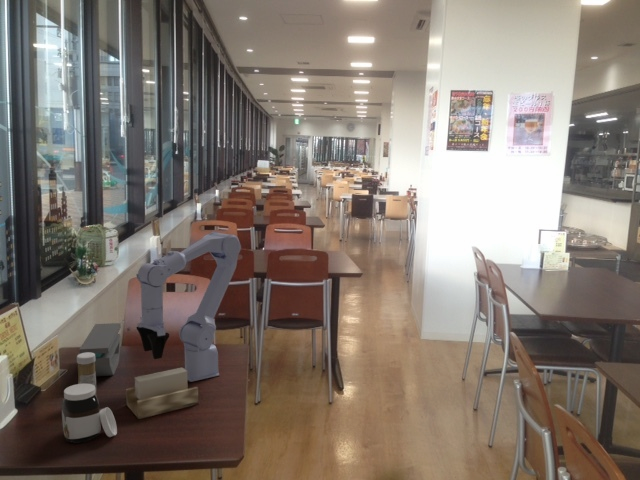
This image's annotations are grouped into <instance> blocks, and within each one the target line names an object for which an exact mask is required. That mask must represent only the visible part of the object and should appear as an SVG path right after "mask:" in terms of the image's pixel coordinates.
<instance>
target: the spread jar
mask: <svg viewBox="0 0 640 480" xmlns="http://www.w3.org/2000/svg"><path fill="white" fill-rule="evenodd" d="M63 397H64V398H63V399H62V401H61V417H62V418H61V419H62V420H61V421H62V422H61V424H62V431H63V436H64V438H65V440H66V441H68V442H69V443H72V442H73V443H75V444H76V443H77V444H81V443H80V442H82V443H86V442H90V441H92V440H93V438H94V439H95V438H96V437H98V436H99V435H100V433H101V429H103V431H104V433H105V435H106V436H107V437H108V438H111V437H115V436H116V435H117V434H118V427H117V422H116V419H115V416H114V414H113V413H114V412H113V411H112V410H111V408H109V407H108V406H107V407H103V408H100V401H99V399H98V397H97V394H96V395H95V386H94V385H92V384H78V383H77V384H73V385H70V386H67V387H66V388H65V389H64V390H63ZM101 426H102V428H101ZM91 439H92V440H91Z"/></svg>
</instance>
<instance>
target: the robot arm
mask: <svg viewBox="0 0 640 480" xmlns="http://www.w3.org/2000/svg"><path fill="white" fill-rule="evenodd" d="M241 250H242V245H241V242H240V240H239V237H238V236H236V235H235V234H227V233H222V232H217V231H212V232H210V233H209V234H205V235H204V236H203V237H202V238H201V239H199V240H198V241H196V242H195V243H193V244H191V245H190V246H188V247H187V248H185V249H183V250H181V251H177V250H169V251H167V252H166V255H164V256H162V257H160V258H155V259H154V260H153V262H152V263H147V262H146V263H144V264H142V265H141V266H140V267H139V269H138V272H137V273H136V274H135V275H136V279H137V280H138V282H139V283H140V289H141V290H140V291H141V292H140V297H141V299H140V301H141V316H140V319H139V320H140V322H138V323H137V326H136V331H137V332H138V333H139V336H140V339H141V343H142V344H141V345H142V347H143V351H144V352H149V351H151V352H152V357H153V359H154V360H157V359H162V358H163V356H164V355H163V354H164V350H165V346H166V343H167V342H168V339H169V338H170V333H169V332H166V327H165V322H164V301H163V300H164V294H163V293H164V292H163V291H164V290H163V289H164V284H165V283H166V282H167V279H168V278H170V277H172V276H173V275H175V274H177V273H178V272H180V271H182V270H184V269H185V268H186V265H187V263H188V262H190V261H192V260H194V259H196V258H198V257H201V256H203V255H204V254H207V253H210V255H211V256H212V258H213V259H214V260H215V263H216V265H217V266H216V268H215V270H214V272H213V274H212V275H211V276H212V277H211V279H210V281H209V283H208V285H207V288H206V290H205V291H204V294H203V297H202V298H201V301H200V303H199V305H198V308H197V310H196V312H195V313H193V314H191V315H190V316H188V318H187V320H186V321H185V323H184V324H183V325H182V326H181V327H180V329H179V333H178V335H179V339H180V341H181V342H183V346H184V369H185V370H186V371H187V381H188V382H190V383H191V382H196V381H200V380H206V379H209V378H214V377H218V376H220V373H219V353H218V349H217V347H216V345H215V344H213V343H214V340H215V332H216V329H217V326H216V323H215V321H214V319H215V317H216V314H217V312H218V309H219V308H220V306H221V303H222V301H223V298H224V296H225V293H226V292H227V289H228V287H229V285H230V282H231V280H232V278H233V276H234V273H235V271H236V269H237V266H238V265H237V264H238V258H239V257H238V256H239V254H240V252H241Z"/></svg>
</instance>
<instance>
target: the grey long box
mask: <svg viewBox="0 0 640 480" xmlns="http://www.w3.org/2000/svg"><path fill="white" fill-rule="evenodd" d="M121 328H122V324H121V322H115V323H114V322H113V323H95V324H94V325H93V327H92V328H91V330H90V332H89V333H88V335H87V336H86V338H85V339H84V341H83V343H82V344H81V346H80V347H79V349H78V355H79V354H81V353H86V352H91V353H94V354H95V372H96V377H108V376H114V375H115V373H116V370H117V368H118V365H119V362H120V354H121V344H122V343H121V342H122V337H121V335H122V334H121V333H120V330H121Z"/></svg>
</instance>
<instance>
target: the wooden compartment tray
mask: <svg viewBox="0 0 640 480" xmlns="http://www.w3.org/2000/svg"><path fill="white" fill-rule="evenodd" d="M125 398H126V399H125V400H126V406H127V407H128V409H130V411H131V412H132V413H133V414H134V415H135V417H136V419H138V420H141V419H142V420H143V419H146V418H149V417H152V416H156V415H157V416H158V415H161V414H164V413H169V412H173V411H176V410H180V409H185V408H189V407H192V406H196V405H199V388H198V386H194V387H190V388H188V389H185V390H181V391H177V392H173V393H168V394H164V395H160V396H156V397H151V398H147V399H143V400H139V399H138V398H137V397H136V396H135V386H132V387H129V388H126V389H125Z"/></svg>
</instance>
